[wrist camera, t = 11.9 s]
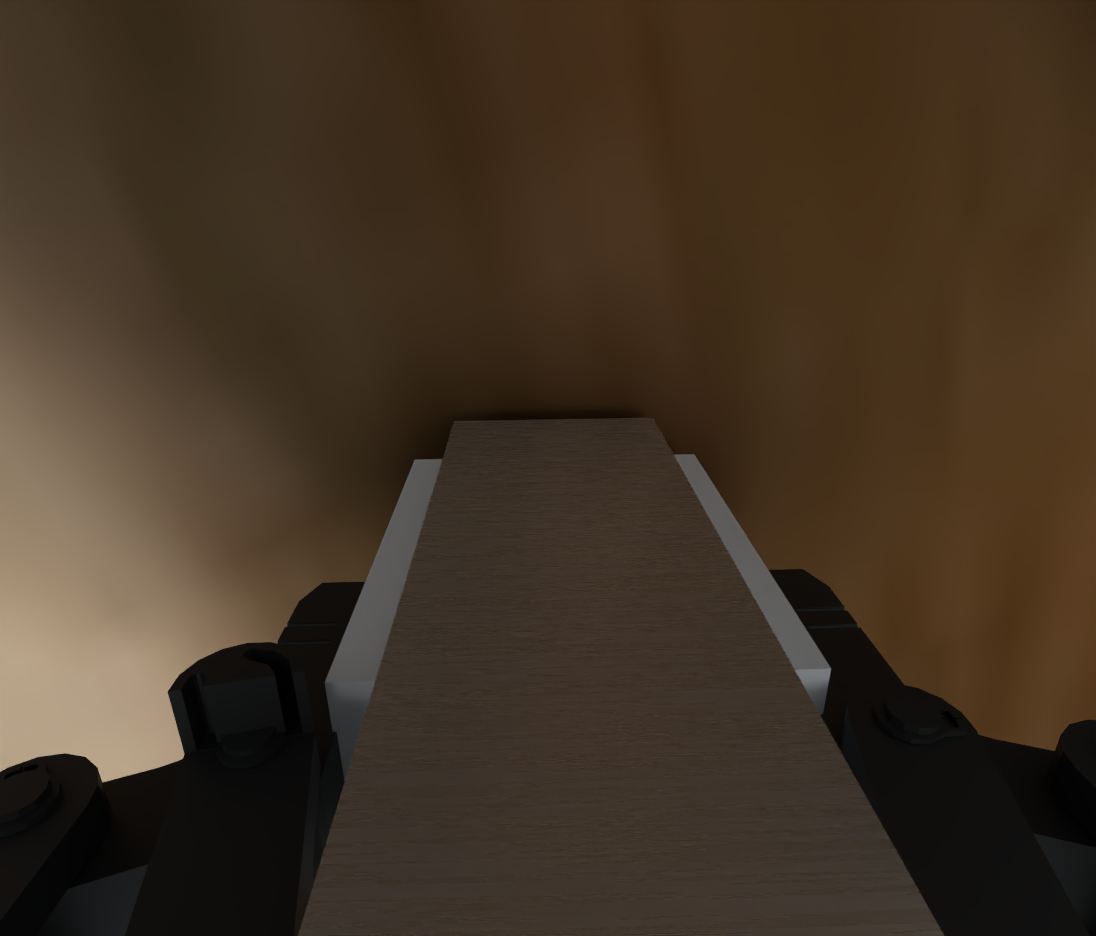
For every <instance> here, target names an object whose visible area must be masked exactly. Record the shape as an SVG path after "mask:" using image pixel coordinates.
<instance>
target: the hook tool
mask: <svg viewBox="0 0 1096 936" xmlns="http://www.w3.org/2000/svg"><path fill="white" fill-rule="evenodd" d="M298 936H944V934H943V933H942V931H941V929H940V927H939V925H938V924H937V922H936V920H935V918H934V917H933V915H932V913H931V911H930V909H929V908H928V906H927V904H926V902H925V901H924V899H923V897H922V895H921V893H920V892H919V890H918V888H917V886H916V885H915V883H914V881H913V879H912V877H911V876H910V874H909V872H908V870H907V869H906V867H905V865H904V863H903V861H902V860H901V858H900V856H899V854H898V853H897V851H896V849H895V847H894V845H893V844H892V842H891V840H890V838H889V837H888V835H887V833H886V831H885V829H884V828H883V826H882V824H881V822H880V821H879V819H878V817H877V815H876V813H875V812H874V810H873V808H872V806H871V805H870V803H869V801H868V799H867V797H866V796H865V794H864V792H863V790H862V789H861V787H860V785H859V783H858V781H857V780H856V778H855V776H854V774H853V772H852V771H851V769H850V767H849V765H848V764H847V762H846V760H845V758H844V756H843V755H842V753H841V751H840V749H839V748H838V746H837V744H836V742H835V740H834V739H833V737H832V735H831V733H830V732H829V730H828V728H827V726H826V724H825V723H824V721H823V719H822V717H821V716H820V714H819V712H818V710H817V708H816V707H815V705H814V703H813V701H812V700H811V698H810V696H809V694H808V692H807V691H806V689H805V687H804V685H803V684H802V682H801V680H800V678H799V676H798V675H797V673H796V671H795V669H794V668H793V666H792V664H791V662H790V660H789V659H788V657H787V655H786V653H785V652H784V650H783V648H782V646H781V644H780V643H779V641H778V639H777V637H776V636H775V634H774V632H773V630H772V628H771V627H770V625H769V623H768V621H767V620H766V618H765V616H764V614H763V612H762V611H761V609H760V607H759V605H758V604H757V602H756V600H755V598H754V596H753V595H752V593H751V591H750V589H749V588H748V586H747V584H746V582H745V580H744V579H743V577H742V575H741V573H740V572H739V570H738V568H737V566H736V564H735V563H734V561H733V559H732V557H731V556H730V554H729V552H728V550H727V548H726V547H725V545H724V543H723V541H722V540H721V538H720V536H719V534H718V532H717V531H716V529H715V527H714V525H713V524H712V522H711V520H710V518H709V516H708V515H707V513H706V511H705V509H704V508H703V506H702V504H701V502H700V500H699V499H698V497H697V495H696V493H695V492H694V490H693V488H692V486H691V484H690V483H689V481H688V479H687V477H686V476H685V474H684V472H683V470H682V468H681V467H680V465H679V463H678V461H677V460H676V458H675V456H674V454H673V452H672V451H671V449H670V447H669V445H668V444H667V442H666V440H665V438H664V436H663V435H662V433H661V431H660V429H659V428H658V426H657V424H656V422H655V420H654V419H653V418H607V419H550V420H493V421H454V423H453V426H452V429H451V433H450V436H449V439H448V442H447V446H446V449H445V452H444V456H443V459H442V462H441V466H440V469H439V472H438V475H437V479H436V482H435V485H434V489H433V492H432V495H431V499H430V502H429V505H428V508H427V512H426V515H425V518H424V522H423V525H422V528H421V532H420V535H419V538H418V541H417V545H416V548H415V551H414V555H413V558H412V561H411V565H410V568H409V571H408V574H407V578H406V581H405V584H404V588H403V591H402V594H401V598H400V601H399V604H398V607H397V611H396V614H395V617H394V621H393V624H392V627H391V631H390V634H389V637H388V640H387V644H386V647H385V650H384V654H383V657H382V660H381V664H380V667H379V670H378V673H377V677H376V680H375V683H374V687H373V690H372V693H371V696H370V700H369V703H368V706H367V710H366V713H365V716H364V720H363V723H362V726H361V729H360V733H359V736H358V739H357V743H356V746H355V749H354V753H353V756H352V759H351V762H350V766H349V769H348V772H347V776H346V779H345V782H344V786H343V789H342V792H341V795H340V799H339V802H338V805H337V809H336V812H335V815H334V819H333V822H332V825H331V828H330V832H329V835H328V838H327V842H326V845H325V848H324V852H323V855H322V858H321V861H320V865H319V868H318V871H317V875H316V878H315V881H314V885H313V888H312V891H311V894H310V898H309V901H308V904H307V908H306V911H305V914H304V918H303V921H302V924H301V927H300V931H299V934H298Z"/></svg>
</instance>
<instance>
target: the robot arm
mask: <svg viewBox="0 0 1096 936" xmlns="http://www.w3.org/2000/svg"><path fill="white" fill-rule="evenodd" d="M674 456H675V458H676V460H677V461H678V463H679V465H680V467H681V468H682V470H683V472H684V474H685V476H686V477H687V479H688V481H689V483H690V484H691V486H692V488H693V490H694V492H695V493H696V495H697V497H698V499H699V500H700V502H701V504H702V506H703V508H704V509H705V511H706V513H707V515H708V516H709V518H710V520H711V522H712V524H713V525H714V527H715V529H716V531H717V532H718V534H719V536H720V538H721V540H722V541H723V543H724V545H725V547H726V548H727V550H728V552H729V554H730V556H731V557H732V559H733V561H734V563H735V564H736V566H737V568H738V570H739V572H740V573H741V575H742V577H743V579H744V580H745V582H746V584H747V586H748V588H749V589H750V591H751V593H752V595H753V596H754V598H755V600H756V602H757V604H758V605H759V607H760V609H761V611H762V612H763V614H764V616H765V618H766V620H767V621H768V623H769V625H770V627H771V628H772V630H773V632H774V634H775V636H776V637H777V639H778V641H779V643H780V644H781V646H782V648H783V650H784V652H785V653H786V655H787V657H788V659H789V660H790V662H791V664H792V666H793V668H794V669H795V671H796V673H797V675H798V676H799V678H800V680H801V682H802V684H803V685H804V687H805V689H806V691H807V692H808V694H809V696H810V698H811V700H812V701H813V703H814V705H815V707H816V708H817V710H818V712H819V714H820V716H821V717H822V719H823V721H824V723H825V724H826V726H827V728H828V730H829V732H830V733H831V735H832V737H833V739H834V740H835V742H836V744H837V746H838V748H839V749H840V751H841V753H842V755H843V756H844V758H845V760H846V762H847V764H848V765H849V767H850V769H851V771H852V772H853V774H854V776H855V778H856V780H857V781H858V783H859V785H860V787H861V789H862V790H863V792H864V794H865V796H866V797H867V799H868V801H869V803H870V805H871V806H872V808H873V810H874V812H875V813H876V815H877V817H878V819H879V821H880V822H881V824H882V826H883V828H884V829H885V831H886V833H887V835H888V837H889V838H890V840H891V842H892V844H893V845H894V847H895V849H896V851H897V853H898V854H899V856H900V858H901V860H902V861H903V863H904V865H905V867H906V869H907V870H908V872H909V874H910V876H911V877H912V879H913V881H914V883H915V885H916V886H917V888H918V890H919V892H920V893H921V895H922V897H923V899H924V901H925V902H926V904H927V906H928V908H929V909H930V911H931V913H932V915H933V917H934V918H935V920H936V922H937V924H938V925H939V927H940V929H941V931H942V933H943V934H944V936H1096V720H1085V721H1081V722H1077V723H1073V724H1069V725H1068V727H1067V728H1066V729H1065V730H1064V732H1063V733H1062V734H1061V736H1060V738H1059V741H1058V744H1057V747H1056V750H1055V751H1051V750H1046V749H1041V748H1036V747H1031V746H1026V745H1021V744H1016V743H1011V742H1006V741H1001V740H996V739H992V738H988V737H984V736H981V735H978V733H977V731H976V729H975V728H974V727H973V726H972V724H971V723H970V722H969V721H968V720H967V718H966V717H965V716H964V715H963V714H962V712H960V711H959V710H957V709H956V708H954V707H953V706H952V705H950V704H949V703H947V702H946V701H944V700H943V699H942V698H939V697H937V696H935V695H932V694H930V693H928V692H926V691H923V690H921V689H919V688H915V687H910V686H905V685H904V684H903V683H902V682H901V680H900V679H899V678H898V676H897V675H896V674H895V672H894V671H893V670H892V668H891V667H890V666H889V665H888V663H887V662H886V661H885V659H884V658H883V657H882V655H881V654H880V653H879V651H878V650H877V649H876V648H875V646H874V645H873V644H872V642H871V641H870V640H869V638H868V637H867V636H866V634H865V633H864V632H863V631H862V629H861V628H858V627H857V623H856V621H855V620H854V619H853V617H852V616H851V615H850V614H849V612H848V611H845V610H844V606H843V604H842V603H841V602H840V600H839V599H838V598H837V597H836V595H835V594H834V593H833V591H832V590H831V589H830V587H829V586H828V585H826V584H824V583H823V582H821V581H820V580H818V579H817V578H815V577H814V576H812V575H811V574H809V573H808V572H806V571H805V570H803V569H790V570H768V569H767V567H766V566H765V564H764V563H763V561H762V560H761V558H760V556H759V555H758V553H757V552H756V550H755V549H754V547H753V545H752V544H751V542H750V541H749V539H748V538H747V536H746V534H745V533H744V531H743V530H742V528H741V527H740V525H739V523H738V522H737V520H736V519H735V517H734V516H733V514H732V513H731V511H730V509H729V508H728V506H727V505H726V503H725V502H724V500H723V498H722V497H721V495H720V494H719V492H718V491H717V489H716V487H715V486H714V484H713V483H712V481H711V480H710V478H709V476H708V475H707V473H706V472H705V470H704V469H703V467H702V466H701V464H700V462H699V461H698V459H697V458H696V456H695V455H694V454H680V455H674ZM441 462H442V459H418V460H414V463H413V465H412V468H411V470H410V472H409V475H408V477H407V480H406V482H405V485H404V487H403V490H402V492H401V495H400V497H399V500H398V502H397V505H396V507H395V510H394V512H393V515H392V517H391V520H390V522H389V524H388V527H387V529H386V532H385V534H384V537H383V539H382V542H381V544H380V547H379V549H378V552H377V554H376V557H375V559H374V562H373V564H372V567H371V569H370V572H369V574H368V576H367V579H366V581H365V582H337V583H322V584H320V585H319V586H318V587H317V588H315V589H314V590H313V591H312V592H310V593H309V594H308V595H307V596H305V597H304V598H303V599H302V600H300V601H299V603H298V605H297V606H296V608H295V610H294V612H293V614H292V616H291V617H290V619H289V621H288V623H287V624H288V625H287V627H285V628H284V630H283V632H282V634H281V636H280V638H279V639H278V644H275V643H272V642H265V643H246V644H242V645H238V646H233V647H229V648H225V649H222V650H220V651H218V652H215V653H213V654H211V655H209V656H207V657H205V658H202V659H200V660H198V661H197V662H196V663H194V664H193V665H192V666H190V667H189V668H188V669H187V670H185V671H184V672H183V673H181V674H180V675H179V676H178V678H177V679H176V680H175V682H174V683H173V685H172V686H171V688H170V689H169V691H168V694H169V698H170V702H171V705H172V709H173V713H174V716H175V720H176V724H177V727H178V731H179V735H180V739H181V742H182V746H183V750H184V753H185V755H184V758H183V759H182V760H180V761H177V762H174V763H171V764H168V765H165V766H162V767H159V768H156V769H152V770H148V771H145V772H141V773H137V774H133V775H130V776H126V777H122V778H118V779H114V780H111V781H107V782H103V783H102V780H101V777H100V774H99V771H98V768H97V767H96V766H95V765H94V764H93V763H91V762H90V761H89V760H88V759H87V758H86V757H82V756H76V755H70V754H58V755H50V756H43V757H37V758H34V759H32V760H29V761H26V762H23V763H20V764H17V765H15V766H12V767H9V768H7V769H5V770H3V771H1V772H0V936H298V934H299V931H300V927H301V924H302V921H303V918H304V914H305V911H306V908H307V904H308V901H309V898H310V894H311V891H312V888H313V885H314V881H315V878H316V875H317V871H318V868H319V865H320V861H321V858H322V855H323V852H324V848H325V845H326V842H327V838H328V835H329V832H330V828H331V825H332V822H333V819H334V815H335V812H336V809H337V805H338V802H339V799H340V795H341V792H342V789H343V786H344V782H345V779H346V776H347V772H348V769H349V766H350V762H351V759H352V756H353V753H354V749H355V746H356V743H357V739H358V736H359V733H360V729H361V726H362V723H363V720H364V716H365V713H366V710H367V706H368V703H369V700H370V696H371V693H372V690H373V687H374V683H375V680H376V677H377V673H378V670H379V667H380V664H381V660H382V657H383V654H384V650H385V647H386V644H387V640H388V637H389V634H390V631H391V627H392V624H393V621H394V617H395V614H396V611H397V607H398V604H399V601H400V598H401V594H402V591H403V588H404V584H405V581H406V578H407V574H408V571H409V568H410V565H411V561H412V558H413V555H414V551H415V548H416V545H417V541H418V538H419V535H420V532H421V528H422V525H423V522H424V518H425V515H426V512H427V508H428V505H429V502H430V499H431V495H432V492H433V489H434V485H435V482H436V479H437V475H438V472H439V469H440V466H441Z"/></svg>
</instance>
